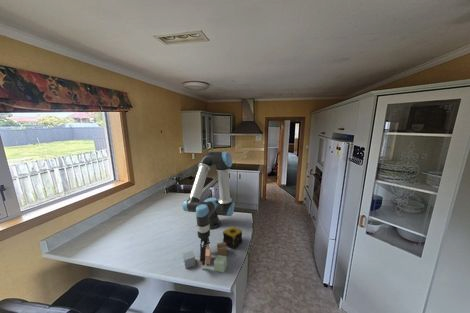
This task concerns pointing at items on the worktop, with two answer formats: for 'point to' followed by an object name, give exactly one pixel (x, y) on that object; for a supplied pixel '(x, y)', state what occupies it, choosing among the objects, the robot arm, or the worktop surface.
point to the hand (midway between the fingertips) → (205, 260)
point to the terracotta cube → (207, 256)
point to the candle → (232, 237)
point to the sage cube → (220, 263)
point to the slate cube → (189, 259)
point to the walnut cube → (222, 249)
